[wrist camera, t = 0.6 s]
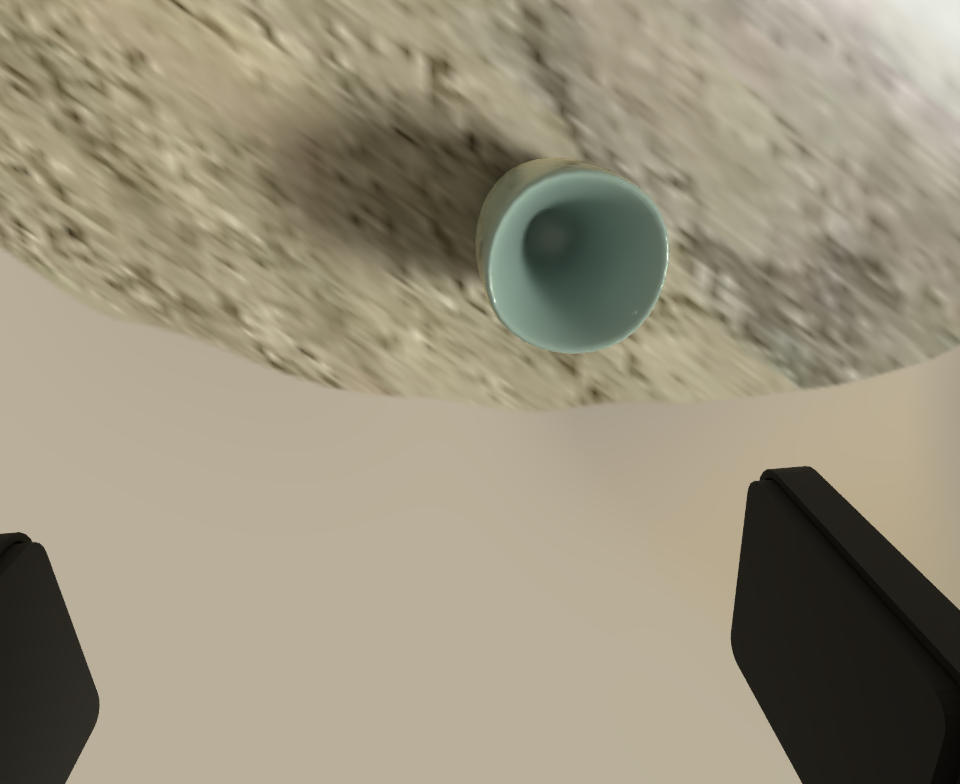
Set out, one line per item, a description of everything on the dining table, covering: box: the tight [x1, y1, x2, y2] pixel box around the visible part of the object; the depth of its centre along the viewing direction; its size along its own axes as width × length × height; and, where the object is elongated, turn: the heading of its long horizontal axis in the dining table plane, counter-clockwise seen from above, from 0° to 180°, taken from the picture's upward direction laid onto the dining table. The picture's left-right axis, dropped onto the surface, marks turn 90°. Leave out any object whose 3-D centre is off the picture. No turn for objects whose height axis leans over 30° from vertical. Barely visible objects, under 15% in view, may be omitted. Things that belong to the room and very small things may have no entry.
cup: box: [475, 157, 669, 354], centre depth 33 cm, size 8×8×10 cm
